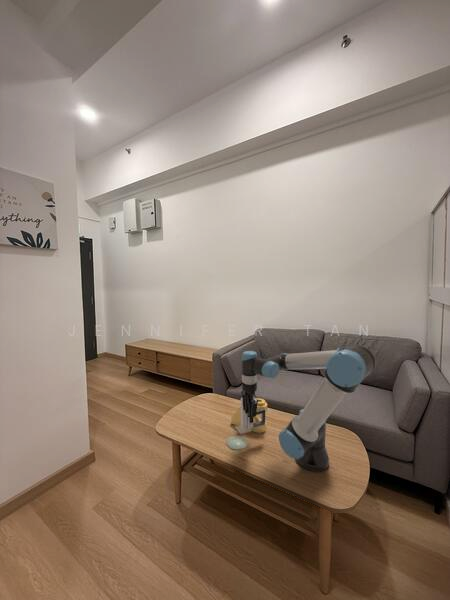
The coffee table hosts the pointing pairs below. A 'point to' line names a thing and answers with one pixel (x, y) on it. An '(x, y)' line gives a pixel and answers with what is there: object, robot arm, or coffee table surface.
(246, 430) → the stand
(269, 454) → the coffee table surface
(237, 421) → the clamp
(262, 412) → the link
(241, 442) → the coaster
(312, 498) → the coffee table surface
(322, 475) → the coffee table surface
